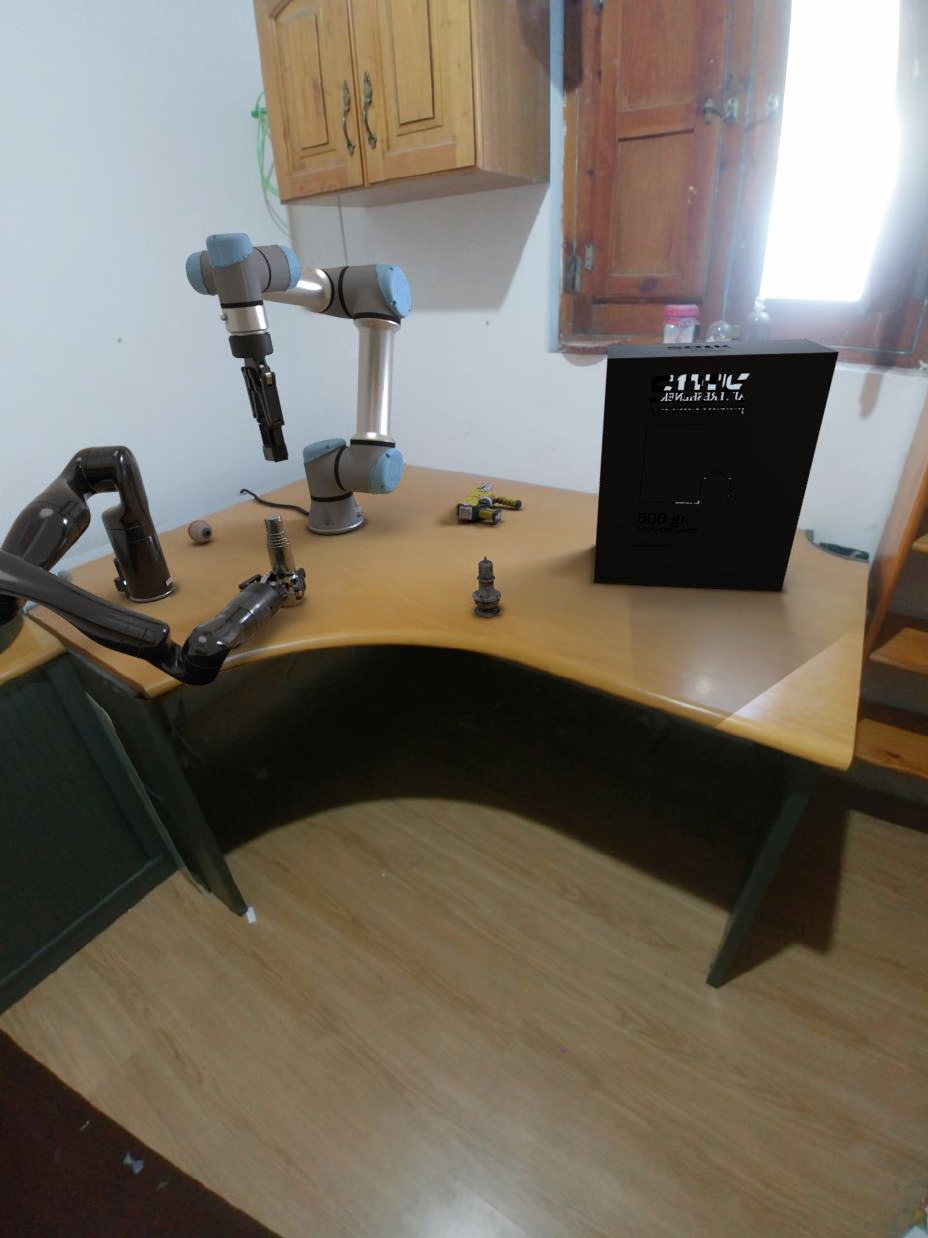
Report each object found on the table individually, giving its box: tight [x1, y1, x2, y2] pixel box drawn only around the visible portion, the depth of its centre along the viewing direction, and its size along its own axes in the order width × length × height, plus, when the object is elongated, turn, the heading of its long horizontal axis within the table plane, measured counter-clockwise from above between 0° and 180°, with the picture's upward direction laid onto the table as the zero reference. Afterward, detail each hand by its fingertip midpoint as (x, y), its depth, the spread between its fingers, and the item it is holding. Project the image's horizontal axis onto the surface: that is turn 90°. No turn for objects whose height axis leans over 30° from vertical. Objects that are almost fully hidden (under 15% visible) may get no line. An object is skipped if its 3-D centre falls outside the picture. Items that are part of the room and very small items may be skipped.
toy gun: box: [455, 482, 523, 525], centre depth 172 cm, size 5×24×15 cm
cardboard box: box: [593, 338, 840, 592], centre depth 124 cm, size 38×20×45 cm, turn 78°
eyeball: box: [187, 519, 213, 544], centre depth 162 cm, size 6×6×6 cm
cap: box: [261, 442, 289, 462], centre depth 122 cm, size 5×5×3 cm
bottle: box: [263, 513, 303, 608], centre depth 126 cm, size 5×5×19 cm
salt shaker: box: [471, 555, 502, 618], centre depth 119 cm, size 6×6×12 cm
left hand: (291, 571), depth 130 cm, fingers closed on bottle, 4 cm apart
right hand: (277, 457), depth 123 cm, fingers closed on cap, 5 cm apart
